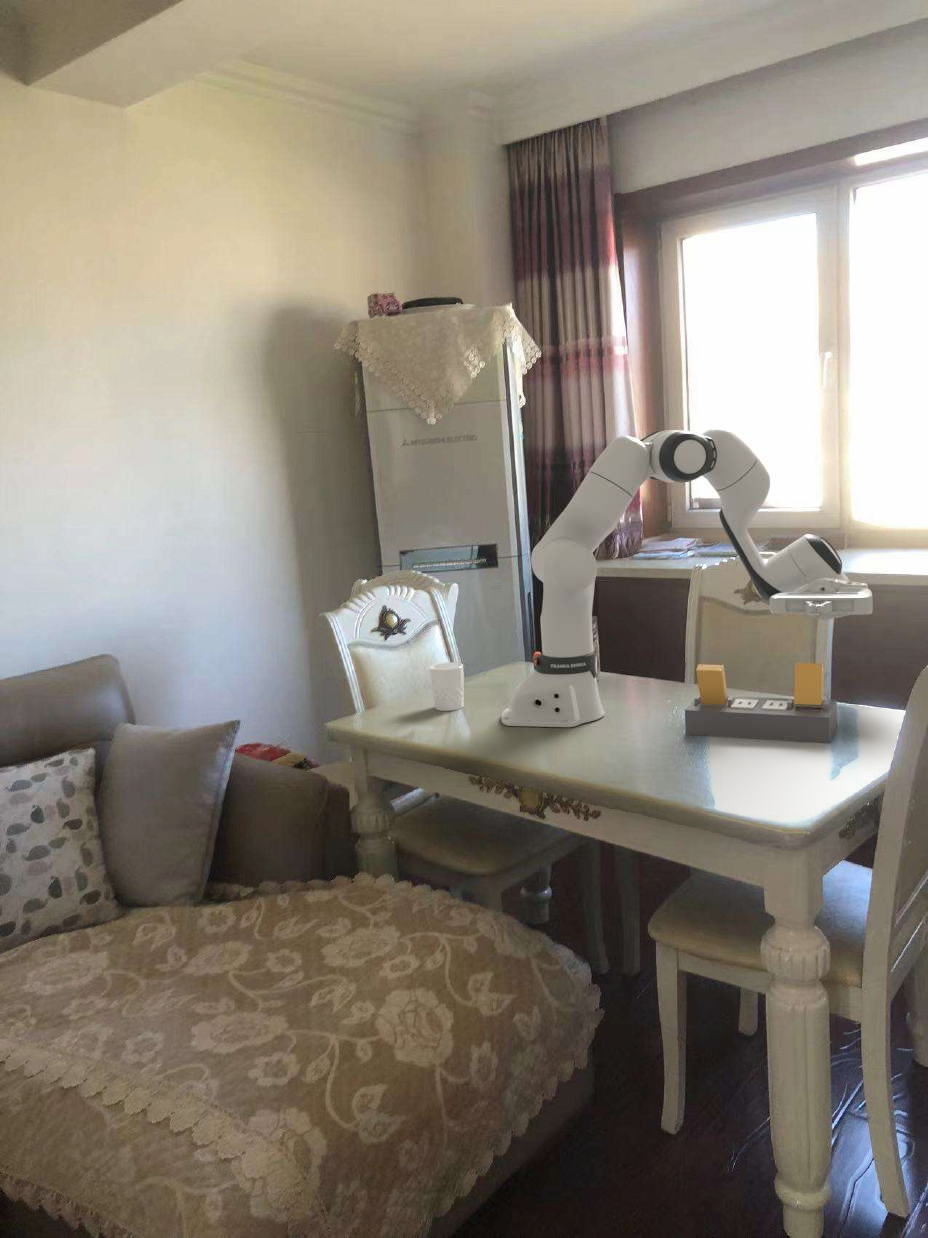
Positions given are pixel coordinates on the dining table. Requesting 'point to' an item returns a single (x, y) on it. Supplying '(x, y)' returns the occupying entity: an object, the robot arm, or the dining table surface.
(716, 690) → the switch
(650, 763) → the dining table surface
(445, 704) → the white cup
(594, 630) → the coffee box
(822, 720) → the power box
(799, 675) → the switch
